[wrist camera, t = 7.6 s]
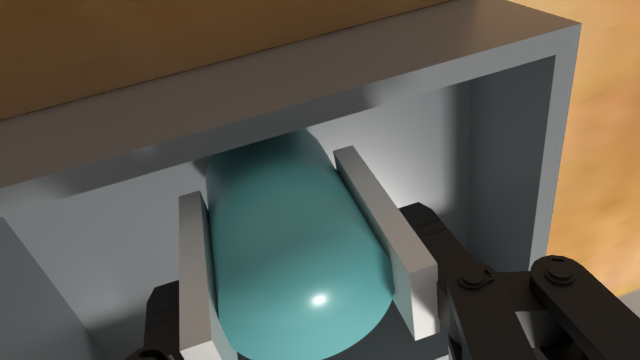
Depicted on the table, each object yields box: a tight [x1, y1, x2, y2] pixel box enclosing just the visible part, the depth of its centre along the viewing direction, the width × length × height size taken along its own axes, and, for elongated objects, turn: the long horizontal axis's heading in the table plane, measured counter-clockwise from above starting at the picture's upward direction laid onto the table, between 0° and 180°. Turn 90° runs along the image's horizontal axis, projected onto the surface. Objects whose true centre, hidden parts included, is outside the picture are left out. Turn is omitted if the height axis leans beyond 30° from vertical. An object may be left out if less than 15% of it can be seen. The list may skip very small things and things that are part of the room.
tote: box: [0, 0, 582, 360], centre depth 19 cm, size 22×16×6 cm
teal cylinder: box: [206, 129, 395, 360], centre depth 15 cm, size 5×5×7 cm
